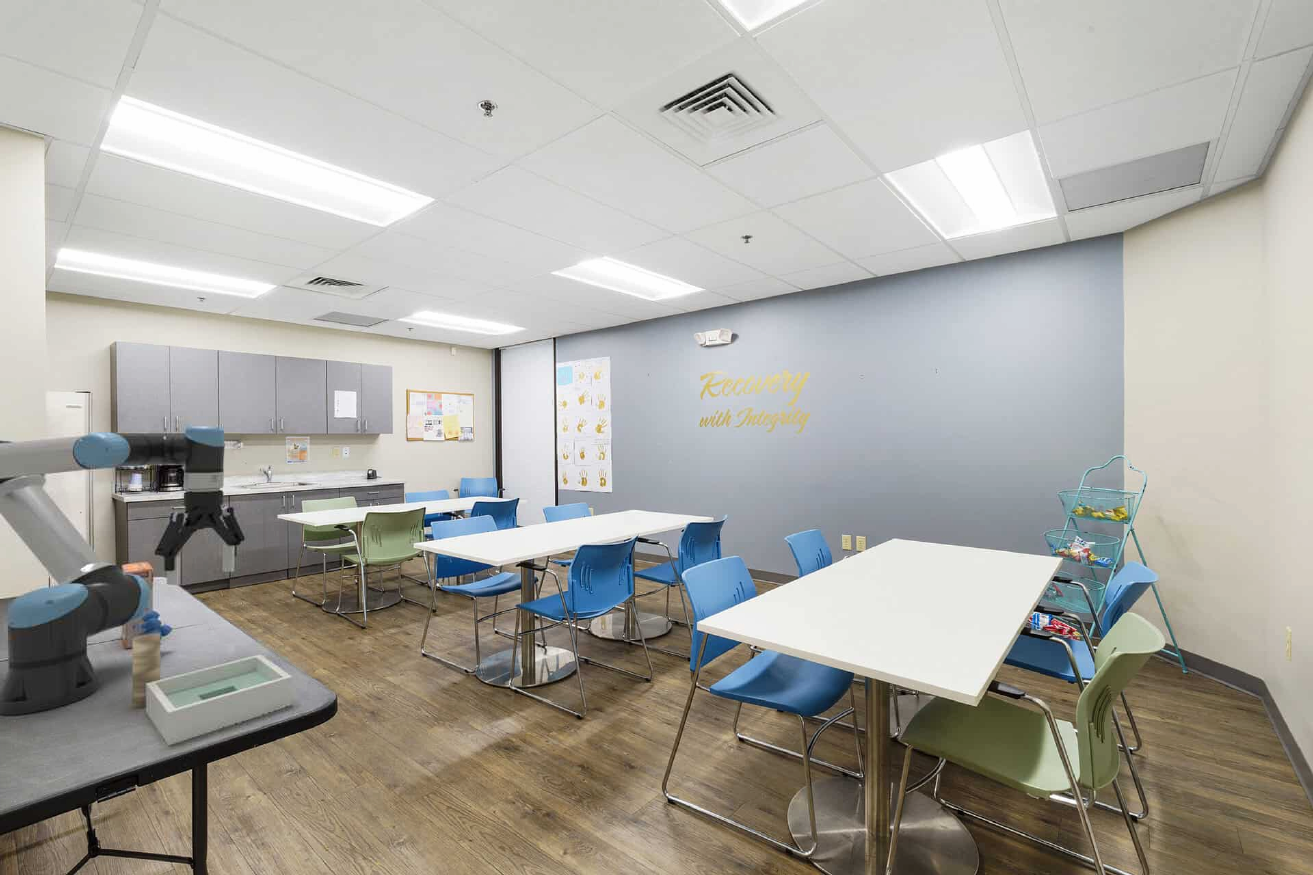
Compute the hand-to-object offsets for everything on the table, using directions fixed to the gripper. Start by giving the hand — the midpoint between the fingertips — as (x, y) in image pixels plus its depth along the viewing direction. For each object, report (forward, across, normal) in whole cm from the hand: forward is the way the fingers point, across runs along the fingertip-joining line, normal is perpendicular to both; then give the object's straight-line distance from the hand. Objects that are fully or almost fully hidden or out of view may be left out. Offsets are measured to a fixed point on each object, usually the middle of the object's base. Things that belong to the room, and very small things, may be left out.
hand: (202, 577), depth 137 cm
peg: (+23, -16, -5) cm, 28 cm away
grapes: (+23, +6, +22) cm, 32 cm away
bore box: (+22, -15, -23) cm, 36 cm away
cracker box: (+24, +14, +38) cm, 47 cm away
